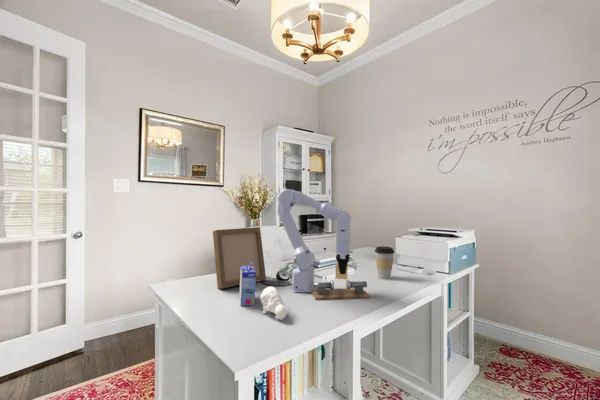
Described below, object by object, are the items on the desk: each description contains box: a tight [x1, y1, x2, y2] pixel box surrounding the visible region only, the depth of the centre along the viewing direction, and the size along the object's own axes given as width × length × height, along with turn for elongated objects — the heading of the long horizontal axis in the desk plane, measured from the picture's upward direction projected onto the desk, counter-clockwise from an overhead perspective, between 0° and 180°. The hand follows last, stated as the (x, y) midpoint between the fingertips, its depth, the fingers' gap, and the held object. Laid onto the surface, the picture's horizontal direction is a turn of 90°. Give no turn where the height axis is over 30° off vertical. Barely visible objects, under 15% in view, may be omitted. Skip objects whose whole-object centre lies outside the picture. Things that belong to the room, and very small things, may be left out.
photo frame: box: [212, 226, 267, 289], centre depth 128 cm, size 15×22×25 cm
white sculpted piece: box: [259, 286, 288, 321], centre depth 92 cm, size 6×8×12 cm
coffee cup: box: [374, 245, 395, 280], centre depth 138 cm, size 9×9×15 cm
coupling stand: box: [311, 279, 371, 301], centre depth 112 cm, size 22×9×6 cm, turn 97°
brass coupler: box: [335, 262, 349, 280], centre depth 115 cm, size 5×4×6 cm
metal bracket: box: [267, 264, 297, 284], centre depth 136 cm, size 14×6×15 cm
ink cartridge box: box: [238, 262, 257, 307], centre depth 104 cm, size 10×6×14 cm, turn 15°
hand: (342, 272), depth 115 cm, fingers closed on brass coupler, 4 cm apart
